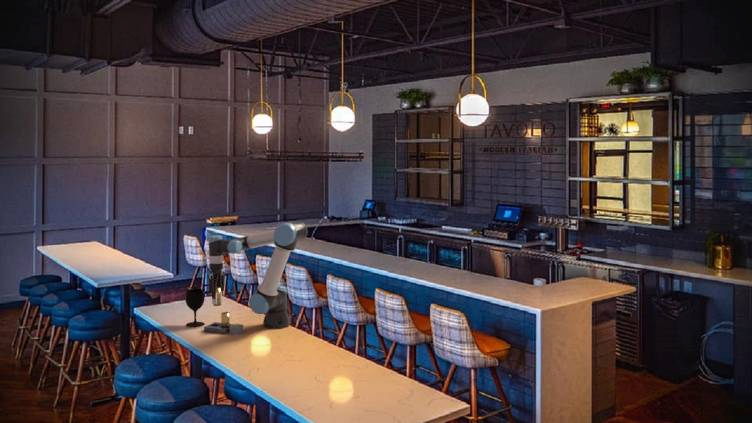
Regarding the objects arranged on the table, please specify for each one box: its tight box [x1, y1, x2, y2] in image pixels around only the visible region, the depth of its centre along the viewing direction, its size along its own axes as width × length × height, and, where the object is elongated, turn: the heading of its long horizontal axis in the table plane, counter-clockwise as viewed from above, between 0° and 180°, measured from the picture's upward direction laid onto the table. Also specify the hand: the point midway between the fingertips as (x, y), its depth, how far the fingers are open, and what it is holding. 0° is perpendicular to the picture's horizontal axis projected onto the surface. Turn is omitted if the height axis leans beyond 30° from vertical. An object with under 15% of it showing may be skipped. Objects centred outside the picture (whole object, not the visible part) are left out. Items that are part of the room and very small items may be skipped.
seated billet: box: [220, 311, 231, 328], centre depth 350 cm, size 4×4×10 cm
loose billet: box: [212, 286, 222, 307], centre depth 362 cm, size 4×4×10 cm
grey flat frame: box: [203, 321, 235, 335], centre depth 352 cm, size 11×14×2 cm
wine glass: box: [184, 288, 205, 328], centre depth 361 cm, size 10×10×20 cm
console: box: [229, 323, 245, 336], centre depth 347 cm, size 6×5×4 cm
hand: (217, 303), depth 362 cm, fingers closed on loose billet, 4 cm apart
